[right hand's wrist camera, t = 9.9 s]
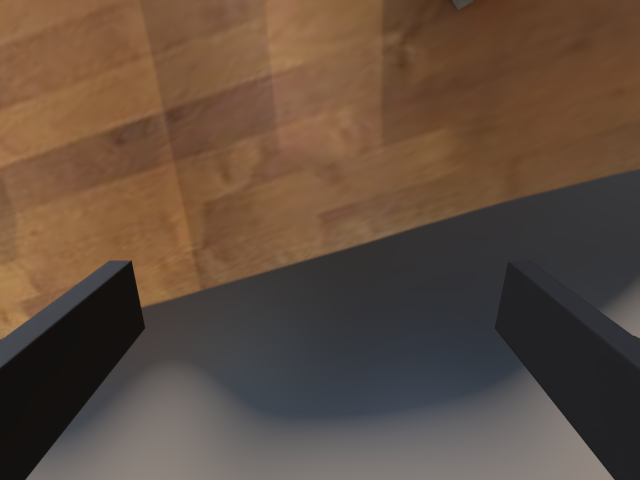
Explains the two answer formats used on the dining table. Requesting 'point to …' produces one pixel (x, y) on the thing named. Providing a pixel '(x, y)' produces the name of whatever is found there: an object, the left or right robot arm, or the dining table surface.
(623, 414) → the right robot arm
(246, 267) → the dining table surface
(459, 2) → the hard drive box
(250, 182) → the dining table surface
